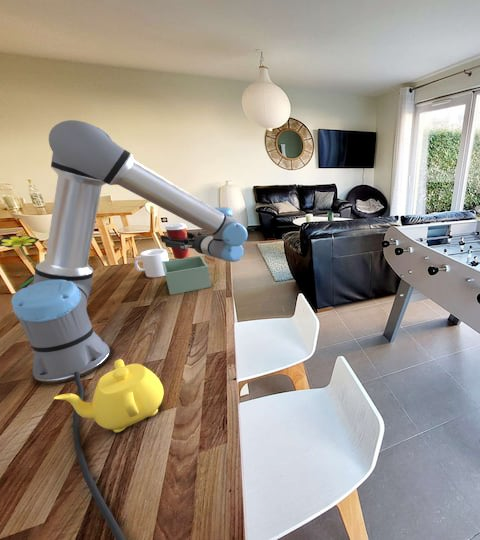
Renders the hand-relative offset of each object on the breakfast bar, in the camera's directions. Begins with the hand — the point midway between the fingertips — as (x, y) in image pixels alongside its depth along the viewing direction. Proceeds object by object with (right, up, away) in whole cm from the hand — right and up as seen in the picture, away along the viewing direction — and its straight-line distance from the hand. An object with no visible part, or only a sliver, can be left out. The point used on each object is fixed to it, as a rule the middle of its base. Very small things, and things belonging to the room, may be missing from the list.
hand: (172, 236), depth 120 cm
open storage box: (+2, -21, +8) cm, 22 cm away
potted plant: (-22, -31, -20) cm, 43 cm away
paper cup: (+3, -9, +2) cm, 9 cm away
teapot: (+25, -48, -55) cm, 77 cm away
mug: (-19, -16, +17) cm, 30 cm away
